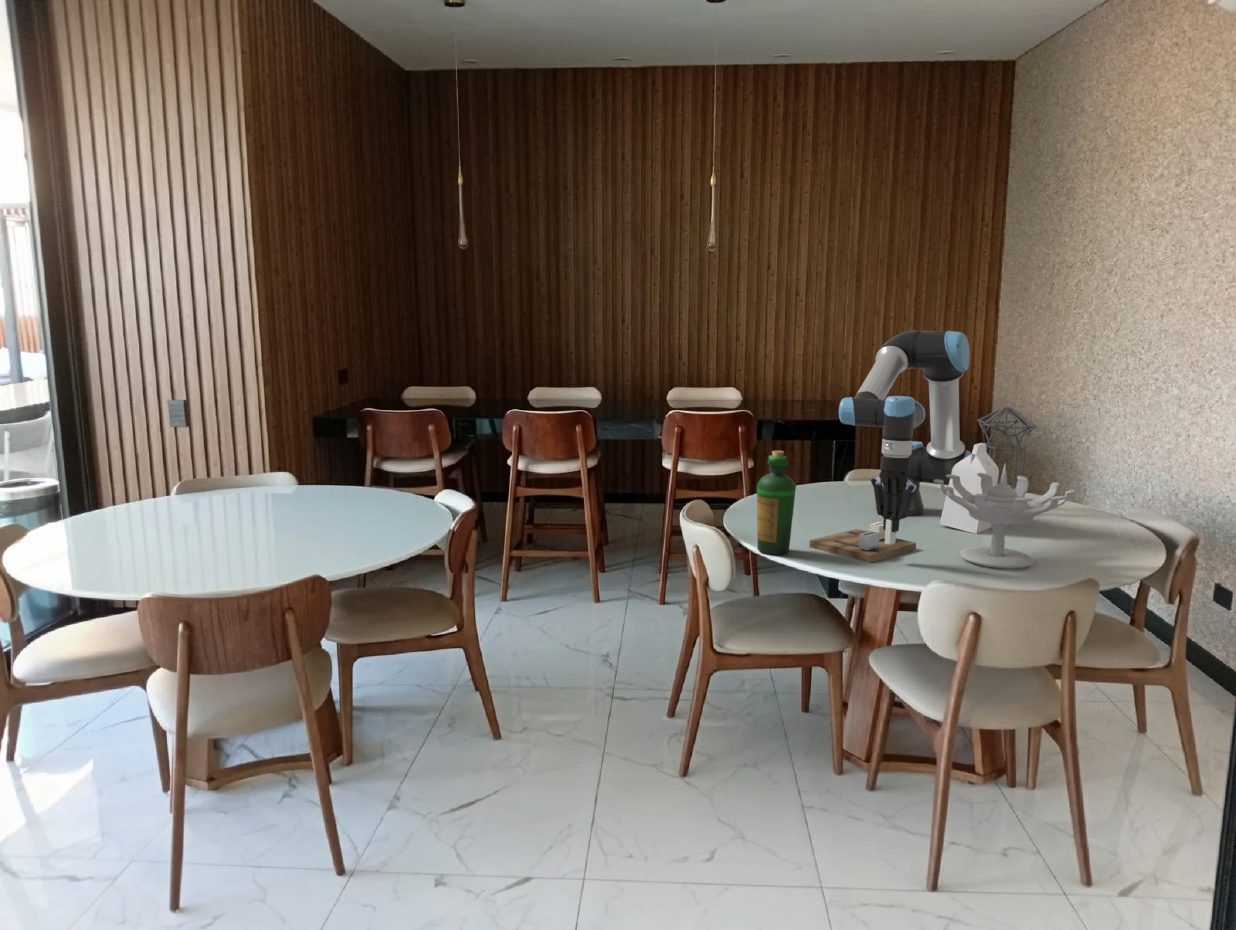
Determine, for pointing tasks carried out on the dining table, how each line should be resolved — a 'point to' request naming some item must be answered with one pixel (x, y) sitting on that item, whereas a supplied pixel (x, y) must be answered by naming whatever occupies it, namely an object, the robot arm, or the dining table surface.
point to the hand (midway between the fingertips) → (889, 543)
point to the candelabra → (1001, 515)
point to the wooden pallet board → (849, 546)
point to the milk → (969, 489)
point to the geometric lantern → (1001, 412)
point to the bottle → (775, 507)
